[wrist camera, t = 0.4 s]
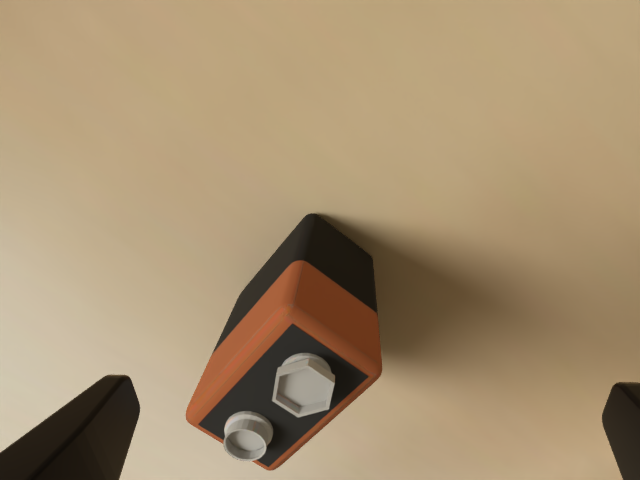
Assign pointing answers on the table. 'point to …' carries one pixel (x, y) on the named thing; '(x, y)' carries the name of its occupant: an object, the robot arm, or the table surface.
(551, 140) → the table surface
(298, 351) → the battery
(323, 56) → the table surface
